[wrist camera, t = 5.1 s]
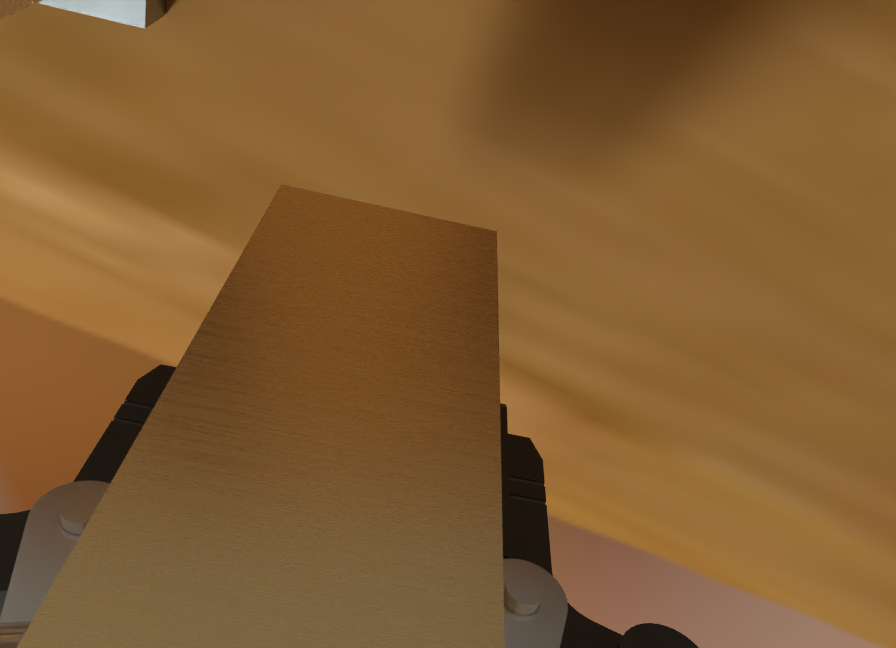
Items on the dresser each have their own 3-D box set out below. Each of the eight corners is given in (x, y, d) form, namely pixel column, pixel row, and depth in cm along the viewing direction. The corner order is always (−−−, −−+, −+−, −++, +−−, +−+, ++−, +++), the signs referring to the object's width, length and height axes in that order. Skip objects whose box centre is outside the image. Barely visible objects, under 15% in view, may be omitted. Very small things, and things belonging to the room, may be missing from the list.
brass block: (496, 231, 15) (507, 774, 6) (431, 469, 18) (380, 1046, 10) (281, 184, 15) (-7, 689, 6) (253, 435, 18) (36, 998, 9)
